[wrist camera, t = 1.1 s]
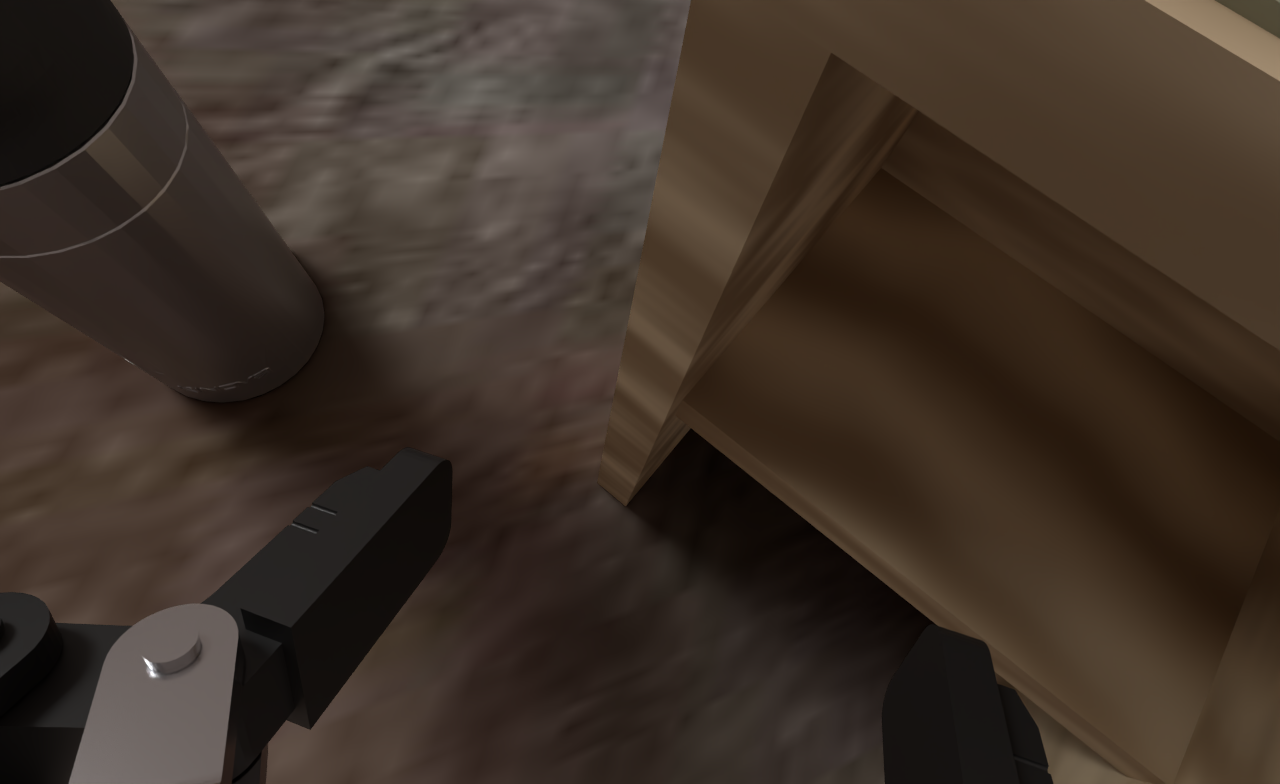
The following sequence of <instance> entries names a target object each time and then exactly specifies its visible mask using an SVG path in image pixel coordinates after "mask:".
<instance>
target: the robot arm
mask: <svg viewBox="0 0 1280 784" xmlns="http://www.w3.org/2000/svg"><path fill="white" fill-rule="evenodd" d="M0 282H2V283H4V284H5V285H7V286H8V287H10V288H12V289H13V290H15V291H16V292H18V293H20V294H21V295H23V296H24V297H26V298H28V299H29V300H31V301H32V302H34V303H36V304H37V305H39V306H40V307H42V308H44V309H45V310H47V311H49V312H50V313H52V314H53V315H55V316H57V317H58V318H60V319H61V320H63V321H65V322H66V323H68V324H69V325H71V326H73V327H74V328H76V329H77V330H79V331H81V332H82V333H84V334H85V335H87V336H89V337H90V338H92V339H93V340H95V341H97V342H98V343H100V344H101V345H103V346H105V347H106V348H108V349H110V350H111V351H113V352H114V353H116V354H118V355H119V356H121V357H122V358H124V359H125V360H127V361H129V362H130V363H132V364H133V365H135V366H137V367H138V368H140V369H141V370H143V371H145V372H146V373H148V374H149V375H151V376H153V377H154V378H156V379H158V380H159V381H161V382H162V383H164V384H166V385H167V386H169V387H170V388H172V389H174V390H176V391H178V392H180V393H181V394H183V395H185V396H187V397H191V398H195V399H198V400H202V401H208V402H223V403H224V402H233V401H241V400H246V399H249V398H253V397H256V396H259V395H263V394H265V393H267V392H269V391H271V390H273V389H275V388H277V387H279V386H281V385H282V384H283V383H285V382H286V381H287V380H289V379H290V378H291V377H293V376H294V375H295V374H296V373H297V372H298V371H299V370H300V369H301V368H302V367H303V366H304V365H305V364H306V363H307V362H308V360H309V359H310V357H311V356H312V354H313V352H314V351H315V349H316V347H317V346H318V343H319V340H320V337H321V334H322V332H323V325H324V308H323V301H322V298H321V296H320V294H319V291H318V289H317V287H316V285H315V284H314V282H313V281H312V280H311V278H310V277H309V275H308V274H307V273H306V271H305V270H304V268H303V267H302V266H301V264H300V263H299V261H298V260H297V259H296V257H295V256H294V254H293V253H292V252H291V250H290V249H289V247H288V246H287V244H286V243H285V241H284V240H283V239H282V237H281V236H280V234H279V233H278V232H277V230H276V229H275V228H274V226H273V225H272V223H271V222H270V221H269V219H268V218H267V216H266V215H265V214H264V212H263V211H262V210H261V208H260V207H259V205H258V204H257V203H256V201H255V200H254V198H253V197H252V196H251V194H250V193H249V191H248V190H247V189H246V187H245V186H244V185H243V183H242V182H241V180H240V179H239V178H238V176H237V175H236V173H235V172H234V171H233V169H232V168H231V167H230V165H229V164H228V162H227V161H226V160H225V158H224V157H223V155H222V154H221V153H220V151H219V150H218V148H217V147H216V146H215V144H214V143H213V142H212V140H211V139H210V137H209V136H208V135H207V133H206V132H205V130H204V129H203V128H202V126H201V125H200V123H199V122H198V121H197V119H196V118H195V117H194V115H193V114H192V112H191V111H190V110H189V108H188V107H187V105H186V104H185V103H184V101H183V100H182V99H181V97H180V96H179V94H178V93H177V92H176V90H175V89H174V88H173V87H172V85H171V84H170V83H169V81H168V80H167V78H166V77H165V76H164V74H163V73H162V71H161V70H160V69H159V67H158V66H157V65H156V63H155V62H154V60H153V59H152V58H151V56H150V55H149V53H148V52H147V51H146V49H145V48H144V47H143V45H142V44H141V42H140V41H139V40H138V38H137V37H136V35H135V34H134V33H133V31H132V30H131V29H130V27H129V26H128V24H127V23H126V22H125V20H124V19H123V17H122V16H121V15H120V13H119V12H118V10H117V9H116V8H115V6H114V5H113V3H112V2H111V1H110V0H0ZM451 506H452V464H451V462H450V461H449V460H446V459H443V458H440V457H437V456H434V455H431V454H428V453H425V452H422V451H419V450H416V449H413V448H410V447H407V448H404V449H402V450H401V451H400V452H398V453H397V454H396V455H395V456H394V457H393V458H392V459H391V460H390V461H389V462H388V463H387V464H386V465H385V466H384V467H383V468H382V469H381V470H377V469H374V468H371V467H368V466H367V467H365V468H363V469H360V470H358V471H356V472H354V473H352V474H350V475H348V476H346V477H344V478H342V479H339V480H337V481H336V482H334V483H333V484H332V485H331V486H330V487H329V488H328V489H327V490H326V491H325V492H324V493H323V494H321V495H320V496H319V497H318V498H317V499H316V500H315V501H314V502H313V503H312V506H311V507H310V508H309V507H307V508H306V509H305V510H304V511H303V512H302V513H301V514H300V515H299V516H298V517H296V518H295V519H294V520H293V523H292V525H291V526H287V527H286V528H284V529H283V530H282V531H281V532H280V533H279V534H278V535H277V536H276V537H275V538H274V539H272V540H271V541H270V542H269V543H268V544H267V545H266V546H265V547H264V548H263V549H262V550H261V551H259V552H258V553H257V554H256V555H255V556H254V557H253V558H252V559H251V560H250V561H249V562H247V563H246V564H245V565H244V566H243V567H242V568H241V569H240V570H239V571H238V572H237V573H236V574H234V575H233V576H232V577H231V578H230V579H229V580H228V581H227V582H226V583H225V584H224V585H222V586H221V587H220V588H219V589H218V590H217V591H216V592H215V593H214V594H212V595H211V596H210V597H209V598H208V599H206V600H205V601H203V602H202V603H200V604H186V605H180V606H175V607H171V608H168V609H165V610H162V611H159V612H157V613H155V614H152V615H150V616H148V617H146V618H145V619H143V620H141V621H140V622H138V623H137V624H135V625H134V626H115V625H91V624H67V623H55V621H54V619H53V617H52V615H51V613H50V611H49V609H48V607H47V606H46V604H45V603H44V602H43V601H41V600H40V599H39V598H37V597H35V596H32V595H29V594H24V593H14V592H8V593H0V784H266V773H267V758H268V742H269V741H270V740H271V738H272V737H273V736H274V735H275V733H276V732H277V731H278V730H279V728H280V727H281V726H282V725H283V723H284V722H285V721H286V720H288V721H290V722H293V723H295V724H298V725H300V726H302V727H305V728H307V729H310V730H311V728H312V727H313V726H314V724H315V723H316V722H317V720H318V719H319V718H320V716H321V715H322V713H323V712H324V711H325V709H326V708H327V707H328V705H329V704H330V703H331V701H332V700H333V699H334V697H335V696H336V695H337V693H338V692H339V691H340V689H341V688H342V687H343V685H344V684H345V683H346V681H347V680H348V679H349V677H350V676H351V675H352V673H353V672H354V671H355V669H356V668H357V667H358V665H359V664H360V663H361V661H362V660H363V659H364V657H365V656H366V655H367V653H368V652H369V651H370V649H371V648H372V647H373V645H374V644H375V643H376V641H377V640H378V638H379V637H380V636H381V634H382V633H383V632H384V630H385V629H386V628H387V626H388V625H389V624H390V622H391V621H392V620H393V618H394V617H395V616H396V614H397V613H398V612H399V610H400V609H401V608H402V606H403V605H404V604H405V602H406V601H407V600H408V598H409V597H410V596H411V594H412V593H413V592H414V590H415V589H416V588H417V586H418V585H419V584H420V582H421V581H422V580H423V578H424V577H425V576H426V574H427V573H428V572H429V570H430V569H431V568H432V566H433V565H434V563H435V562H436V561H437V559H438V558H439V556H440V555H441V553H442V551H443V549H444V547H445V545H446V542H447V539H448V536H449V533H450V528H451ZM882 732H883V752H884V772H885V784H1053V780H1052V776H1051V774H1049V773H1048V767H1049V765H1048V761H1047V757H1046V754H1045V750H1044V746H1043V743H1042V739H1041V735H1040V731H1039V728H1038V726H1037V724H1036V723H1035V721H1034V720H1033V718H1032V716H1031V715H1030V713H1029V711H1028V710H1027V708H1026V707H1025V705H1024V703H1023V702H1022V700H1021V699H1020V697H1019V695H1018V694H1017V692H1016V690H1015V689H1012V688H1009V687H1006V686H1003V685H1000V684H997V680H996V676H995V671H994V667H993V663H992V658H991V654H990V650H989V648H988V646H987V644H986V643H985V642H984V641H982V640H979V639H976V638H973V637H970V636H967V635H964V634H961V633H958V632H955V631H952V630H949V629H946V628H943V627H940V626H937V625H934V624H930V625H929V626H927V627H926V628H925V629H924V631H923V632H922V634H921V635H920V637H919V638H918V640H917V641H916V643H915V644H914V646H913V647H912V649H911V650H910V652H909V653H908V655H907V656H906V658H905V659H904V661H903V662H902V664H901V665H900V667H899V668H898V670H897V671H896V673H895V674H894V676H893V677H892V679H891V681H890V683H889V685H888V688H887V691H886V694H885V698H884V703H883V710H882Z"/></svg>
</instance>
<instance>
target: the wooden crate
mask: <svg viewBox="0 0 1280 784" xmlns="http://www.w3.org/2000/svg"><path fill="white" fill-rule="evenodd" d="M690 428H691V429H693V430H694V431H695V432H696V433H698V434H699V435H700V436H701V437H703V438H704V439H705V440H706V441H708V442H709V443H710V444H711V445H713V446H714V447H715V448H716V449H718V450H719V451H720V452H721V453H723V454H724V455H725V456H726V457H728V458H729V459H730V460H731V461H733V462H734V463H735V464H736V465H738V466H739V467H740V468H741V469H743V470H744V471H745V472H746V473H748V474H749V475H750V476H751V477H753V478H754V479H755V480H756V481H758V482H759V483H760V484H761V485H763V486H764V487H765V488H766V489H768V490H769V491H770V492H771V493H773V494H774V495H775V496H776V497H778V498H779V499H780V500H781V501H783V502H784V503H785V504H786V505H788V506H789V507H790V508H791V509H793V510H794V511H795V512H796V513H798V514H799V515H800V516H801V517H803V518H804V519H805V520H806V521H808V522H809V523H810V524H811V525H813V526H814V527H815V528H816V529H818V530H819V531H820V532H821V533H823V534H824V535H825V536H826V537H828V538H829V539H830V540H831V541H833V542H834V543H835V544H836V545H838V546H839V547H840V548H841V549H843V550H844V551H845V552H846V553H848V554H849V555H850V556H851V557H853V558H854V559H855V560H856V561H858V562H859V563H860V564H861V565H863V566H864V567H865V568H866V569H868V570H869V571H870V572H871V573H873V574H874V575H875V576H876V577H878V578H879V579H880V580H881V581H883V582H884V583H885V584H886V585H888V586H889V587H890V588H891V589H893V590H894V591H895V592H896V593H898V594H899V595H900V596H901V597H903V598H904V599H905V600H906V601H908V602H909V603H910V604H911V605H913V606H914V607H915V608H916V609H918V610H919V611H920V612H921V613H923V614H924V615H925V616H926V617H928V618H929V619H930V620H931V621H933V622H934V623H935V624H936V625H937V626H940V627H943V628H946V629H949V630H952V631H955V632H958V633H961V634H964V635H967V636H970V637H973V638H976V639H979V640H982V641H984V642H985V643H986V644H987V646H988V648H989V650H990V654H991V658H992V663H993V667H994V671H995V676H996V680H997V684H1000V685H1003V686H1006V687H1009V688H1012V689H1015V690H1016V692H1017V694H1018V695H1019V697H1020V699H1021V700H1022V702H1023V703H1024V705H1025V707H1026V708H1027V710H1028V711H1029V713H1030V715H1031V716H1032V718H1033V720H1034V721H1035V723H1036V724H1037V726H1038V728H1039V731H1040V735H1041V739H1042V743H1043V746H1044V750H1045V754H1046V757H1047V761H1048V765H1049V767H1048V773H1049V774H1051V776H1052V780H1053V784H1280V0H691V4H690V9H689V14H688V19H687V24H686V30H685V35H684V40H683V45H682V50H681V55H680V60H679V66H678V71H677V76H676V81H675V86H674V91H673V96H672V101H671V107H670V112H669V117H668V122H667V127H666V132H665V137H664V142H663V148H662V153H661V158H660V163H659V168H658V173H657V178H656V184H655V189H654V194H653V199H652V204H651V209H650V214H649V219H648V225H647V230H646V235H645V240H644V245H643V250H642V255H641V261H640V266H639V271H638V276H637V281H636V286H635V291H634V296H633V302H632V307H631V312H630V317H629V322H628V327H627V332H626V338H625V343H624V348H623V353H622V358H621V363H620V368H619V373H618V379H617V384H616V389H615V394H614V399H613V404H612V409H611V415H610V420H609V425H608V430H607V435H606V440H605V445H604V450H603V456H602V461H601V466H600V471H599V476H598V481H597V483H598V484H599V485H601V486H602V487H603V488H604V489H605V490H607V491H608V492H609V493H610V494H611V495H613V496H614V497H615V498H616V499H617V500H619V501H620V502H621V503H622V504H623V505H624V506H626V505H627V504H628V503H629V502H630V501H631V499H632V498H633V497H634V496H635V495H636V493H637V492H638V491H639V490H640V489H641V487H642V486H643V485H644V484H645V483H646V481H647V480H648V479H649V478H650V477H651V475H652V474H653V473H654V472H655V471H656V469H657V468H658V467H659V466H660V465H661V463H662V462H663V461H664V460H665V459H666V457H667V456H668V455H669V454H670V453H671V451H672V450H673V449H674V448H675V447H676V445H677V444H678V443H679V442H680V440H681V439H682V438H683V437H684V436H685V434H686V433H687V432H688V431H689V430H690Z"/></svg>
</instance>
